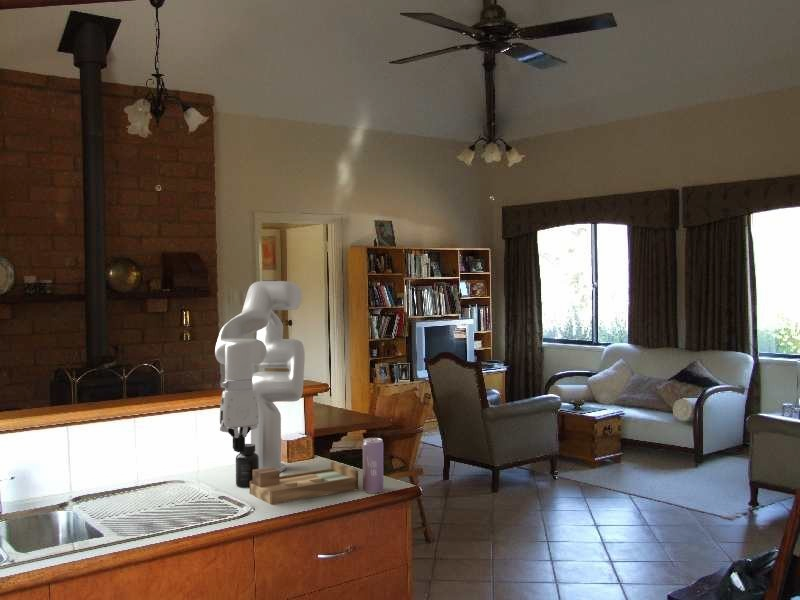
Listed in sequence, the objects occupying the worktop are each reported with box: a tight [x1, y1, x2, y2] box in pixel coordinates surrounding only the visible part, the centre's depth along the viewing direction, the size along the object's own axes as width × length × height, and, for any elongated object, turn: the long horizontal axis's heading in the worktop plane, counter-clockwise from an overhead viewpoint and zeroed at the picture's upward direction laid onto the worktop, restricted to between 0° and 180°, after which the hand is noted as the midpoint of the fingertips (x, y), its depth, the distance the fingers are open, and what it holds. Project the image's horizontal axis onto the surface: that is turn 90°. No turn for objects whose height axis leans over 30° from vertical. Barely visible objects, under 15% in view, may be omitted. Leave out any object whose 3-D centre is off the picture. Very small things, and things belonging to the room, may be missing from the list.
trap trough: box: [249, 461, 359, 505], centre depth 236 cm, size 14×28×6 cm, turn 125°
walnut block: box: [253, 467, 281, 487], centre depth 233 cm, size 5×6×4 cm
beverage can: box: [362, 437, 384, 494], centre depth 237 cm, size 6×6×15 cm
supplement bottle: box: [235, 443, 259, 488], centre depth 243 cm, size 7×7×12 cm
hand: (238, 451), depth 227 cm, fingers closed
